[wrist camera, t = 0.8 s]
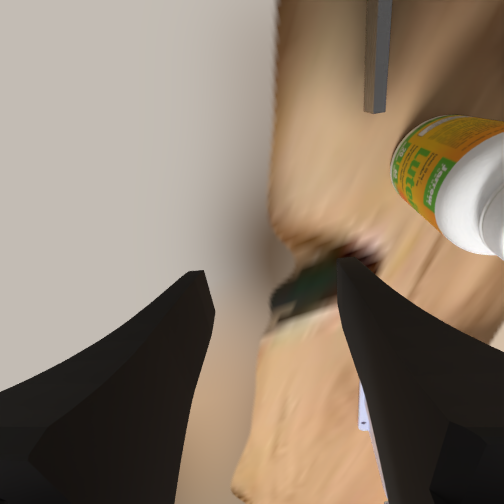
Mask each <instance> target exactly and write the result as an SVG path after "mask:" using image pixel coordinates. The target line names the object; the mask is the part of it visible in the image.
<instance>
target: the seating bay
mask: <svg viewBox="0 0 504 504" xmlns="http://www.w3.org/2000/svg"><path fill="white" fill-rule="evenodd" d="M391 13H392V0H367V17H366V51H365V85H364V112H368V113H372V114H376V113H382V112H385V109H386V93H387V77H388V61H389V45H390V29H391Z"/></svg>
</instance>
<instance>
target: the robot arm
mask: <svg viewBox="0 0 504 504" xmlns="http://www.w3.org/2000/svg"><path fill="white" fill-rule="evenodd" d="M337 300H338V308H339V313H340V318H341V323H342V328H343V331H344V334H345V337H346V340H347V343H348V346H349V349H350V352H351V355H352V358H353V361H354V364H355V367H356V370H357V373H358V376H359V379H360V382H359V408H358V428H359V429H360V430H362V431H369V434H370V438H371V442H372V446H373V450H374V453H375V457H376V461H377V465H378V469H379V473H380V477H381V481H382V485H383V488H384V491H385V494H386V496H387V498H388V501H386V502H384V504H504V352H502V351H500V350H498V349H496V348H494V347H491V346H489V345H487V344H485V343H483V342H481V341H479V340H477V339H475V338H473V337H471V336H469V335H467V334H465V333H463V332H461V331H459V330H457V329H455V328H453V327H452V326H450V325H448V324H446V323H444V322H443V321H441V320H439V319H438V318H436V317H434V316H432V315H431V314H429V313H427V312H426V311H424V310H422V309H421V308H419V307H418V306H416V305H415V304H413V303H412V302H410V301H409V300H407V299H406V298H405V297H403V296H402V295H400V294H399V293H398V292H396V291H395V290H394V289H392V288H391V287H390V286H388V285H387V284H386V283H385V282H383V281H382V280H381V279H380V278H378V277H377V276H376V275H375V274H374V273H373V272H371V271H370V270H369V269H368V268H367V267H366V266H365V265H363V264H362V263H361V262H360V261H359V260H358V259H356V258H355V257H350V258H339V259H337ZM214 317H215V308H214V305H213V301H212V298H211V295H210V291H209V287H208V283H207V280H206V277H205V273H204V270H199V271H189V272H187V273H186V274H185V275H184V276H182V277H181V278H179V279H178V280H177V281H176V282H175V283H174V284H173V285H172V286H170V287H169V288H168V289H167V290H166V291H164V292H163V293H162V294H161V295H160V296H159V297H157V298H156V299H155V300H154V301H153V302H151V303H150V304H149V305H148V306H146V307H145V308H144V309H143V310H141V311H140V312H139V313H138V314H136V315H135V316H134V317H133V318H131V319H130V320H129V321H127V322H126V323H125V324H123V325H122V326H120V327H119V328H118V329H116V330H115V331H113V332H112V333H110V334H109V335H107V336H106V337H104V338H103V339H101V340H100V341H98V342H96V343H95V344H93V345H91V346H89V347H88V348H86V349H84V350H83V351H81V352H79V353H77V354H76V355H74V356H72V357H71V358H69V359H67V360H65V361H64V362H62V363H60V364H58V365H56V366H54V367H52V368H50V369H48V370H46V371H44V372H42V373H40V374H38V375H36V376H34V377H32V378H30V379H28V380H26V381H24V382H22V383H19V384H17V385H15V386H13V387H10V388H8V389H6V390H4V391H1V392H0V504H174V502H175V495H176V489H177V482H178V475H179V469H180V463H181V456H182V451H183V445H184V440H185V434H186V428H187V423H188V419H189V414H190V409H191V404H192V399H193V395H194V391H195V388H196V385H197V381H198V378H199V375H200V372H201V368H202V365H203V362H204V358H205V355H206V352H207V348H208V345H209V341H210V339H211V335H212V330H213V324H214Z"/></svg>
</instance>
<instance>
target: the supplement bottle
mask: <svg viewBox="0 0 504 504" xmlns="http://www.w3.org/2000/svg"><path fill="white" fill-rule="evenodd" d="M390 176H391V181H392V184H393V186H394V188H395V190H396V191H397V193H398V194H399V195H400V196H401V197H402V198H403V199H404V200H405V201H406V202H407V203H408V204H409V205H411V206H412V207H413V208H414V209H415V210H416V211H417V212H418V213H419V214H421V215H422V216H423V217H424V218H425V219H426V220H427V221H428V222H429V223H430V224H432V225H433V226H434V227H435V228H436V229H437V230H438V231H439V232H440V233H442V234H443V235H444V236H445V237H446V238H447V239H448V240H450V241H451V242H452V243H453V244H455V245H456V246H458V247H460V248H462V249H464V250H466V251H469V252H472V253H476V254H482V255H497V256H498V257H500V258H501V259H502V260H503V261H504V122H503V121H496V120H490V119H483V118H476V117H471V116H464V115H443V116H438V117H435V118H432V119H429V120H427V121H425V122H423V123H421V124H420V125H418V126H417V127H415V128H414V129H413V130H411V131H410V132H409V133H408V134H407V135H406V136H405V137H404V138H403V140H402V141H401V142H400V144H399V145H398V147H397V149H396V150H395V153H394V155H393V158H392V161H391V167H390Z"/></svg>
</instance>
